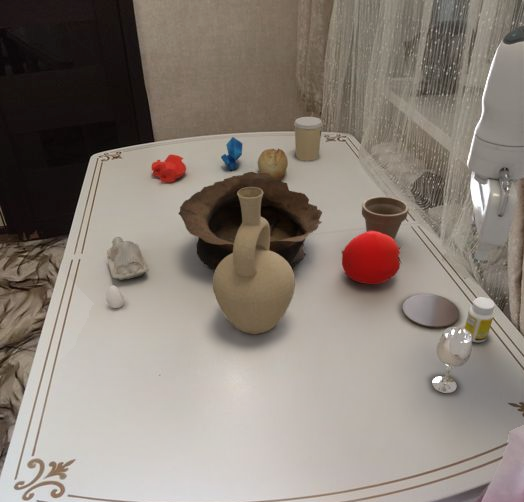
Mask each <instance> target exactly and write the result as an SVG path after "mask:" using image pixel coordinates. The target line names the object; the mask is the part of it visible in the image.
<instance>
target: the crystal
mask: <svg viewBox="0 0 524 502" xmlns="http://www.w3.org/2000/svg"><path fill="white" fill-rule="evenodd" d="M225 145H226V150H227V154H226V153H224V154H222V155H221V156H220V158H221V160H222V161H223V163H224V164H225V165H226V166H227V169H228V170H229V171H235V170H236V169H237V161H238V160H239V159H240V158H241V156H242V154H243V142H241V141H240V140H238V139H237V138H235V137H234V136H232V137H230V140H228V141H227V143H226V144H225Z"/></svg>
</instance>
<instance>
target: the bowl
mask: <svg viewBox="0 0 524 502" xmlns="http://www.w3.org/2000/svg"><path fill="white" fill-rule="evenodd" d="M246 187H256V188H260V189H261V190H262V191H263V196H262V200H261V211H260V216H261V217H263V218H265V219H266V220H267V222H268V223H269V226H270V247H269V250H270V251H272V252H275V253H277V254H279V255H280V256H281V257H283V258H284V259H285V260H286V261H287V262H288V263H289V265H290V266H291V268H292V267H294V266H296V265H297V264H299V263H300V262H302V261H303V260H304V258H305V257H306V255H307V254H306V253H305V250H304V242H306V241H305V240H306V238H307V237H309V235H310V234H311V233H313V232H315V231H317V229H318V228H319V225H321V224H322V223H323V221H322V220H320V219H321V216H322V214H323V211H322V210H320V209H318V206H317V205H314V204H312V203H309V201H310V199H309V198H308V196H307V195H306V194H305V193H303V192H297V191H293V190H290V189H289V186H288V183H287V182H283V181H281V180H277V179H276V178H274V177H273V176H271V175H270V174H269V173H260V172H255V171H247V172H245V173H243V174H239V175H231V176H230V177H227V178H224V179H223V180H220V181H214V182H213V184H211V185H207V186H204V187H202V189H201V190H200V191H197V192H195V193H193V195H191V196H190V197H189V198H188V199H186V200H184V201H183V202H182V204H181V206H180V207H179V212H178V215H179V216H180V218H181V220H182V221H183V223H184V227H185V229H186V230H187V231H188V233H189V234H190V235H192V236H195V237H196V238H197V242H196V255H197V257H198V259H199V260H200V261H201V263H202V264H203V265H204V266H206V267H207V268H209V269H211V270H213V271H215V270H216V268H217V266H218V265H219V263H220V262H221V261H222V260H223V259H224V258H225V257H227V256H228V255H230V254H232V253H233V246H234V241H235V237H236V234H237V232H238V229H239V227H240V226H241V224H242V211H241V205H240V200H239V197H238V195H237V192H238V191H239V190H240V189H242V188H246Z"/></svg>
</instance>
